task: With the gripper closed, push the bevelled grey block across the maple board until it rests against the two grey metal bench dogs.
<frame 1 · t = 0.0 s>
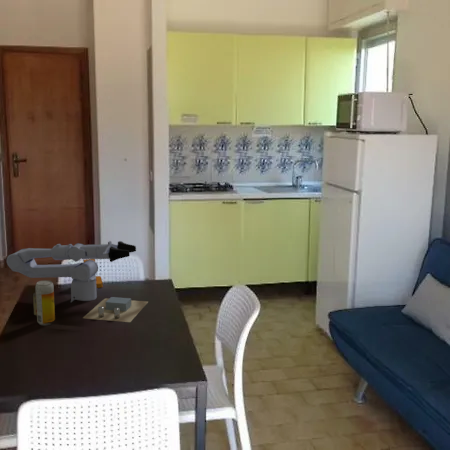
hand: (132, 250, 219), 22 cm above the table, tool horizontal, fingers open, 7 cm apart
bench dogs: (109, 312, 206), on the board, point 3 cm above the table
board: (116, 312, 214), on the table
bracket: (93, 286, 245), on the table
lighter: (43, 314, 212), on the table
bevelled grey block: (118, 307, 216), point 1 cm above the table, touching board
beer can: (46, 323, 203), on the table
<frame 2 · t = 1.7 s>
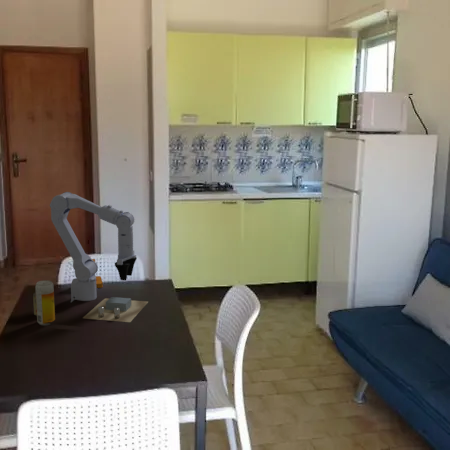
hand: (126, 277, 223), 10 cm above the table, tool pointing down, fingers open, 6 cm apart
nothing on the table moved.
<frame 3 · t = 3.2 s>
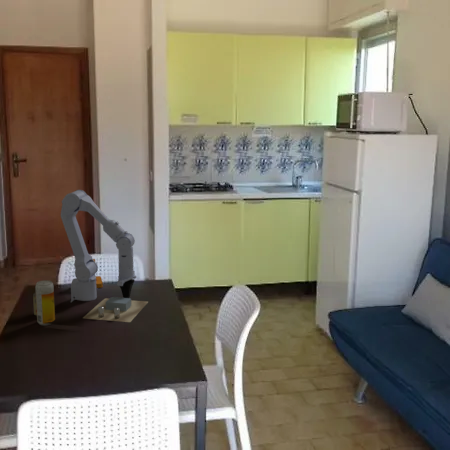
hand: (126, 298, 225), 2 cm above the table, tool pointing down, fingers closed
nothing on the table moved.
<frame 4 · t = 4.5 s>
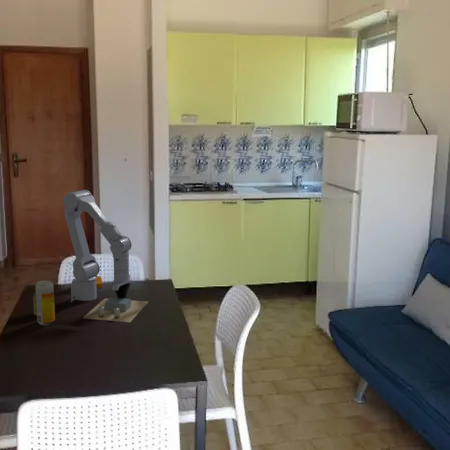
hand: (121, 302, 219), 2 cm above the table, tool pointing down, fingers closed
bevelled grey block: (118, 308, 215), point 1 cm above the table, touching gripper
everything else where it was.
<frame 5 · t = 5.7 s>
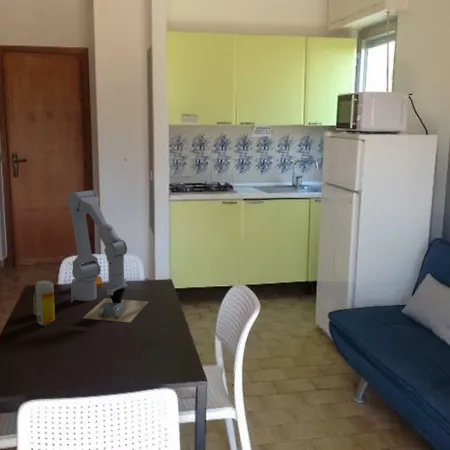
hand: (117, 307, 214), 2 cm above the table, tool pointing down, fingers closed
bevelled grey block: (112, 313, 210), point 1 cm above the table, touching bench dogs, board, gripper
everything else where it was.
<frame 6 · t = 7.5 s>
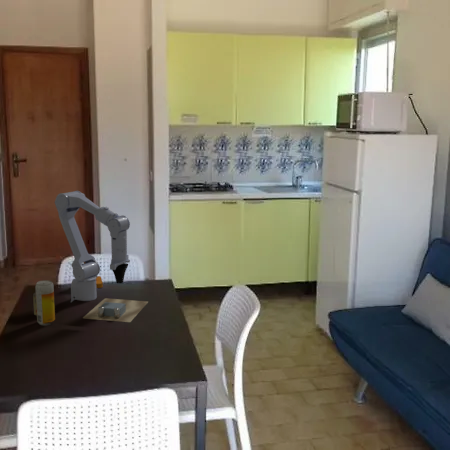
hand: (119, 282, 217), 10 cm above the table, tool pointing down, fingers closed
bevelled grey block: (112, 313, 210), point 1 cm above the table, touching bench dogs, board
everything else where it was.
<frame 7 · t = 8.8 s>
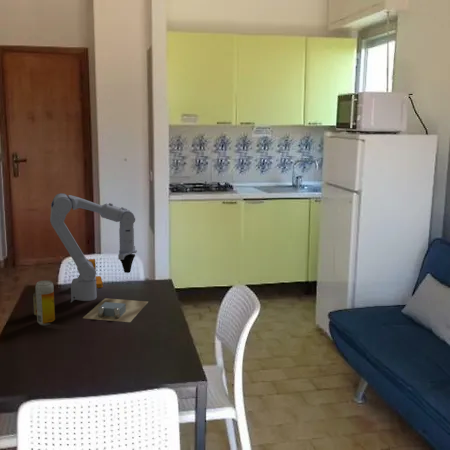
hand: (127, 272, 230), 10 cm above the table, tool pointing down, fingers closed
nothing on the table moved.
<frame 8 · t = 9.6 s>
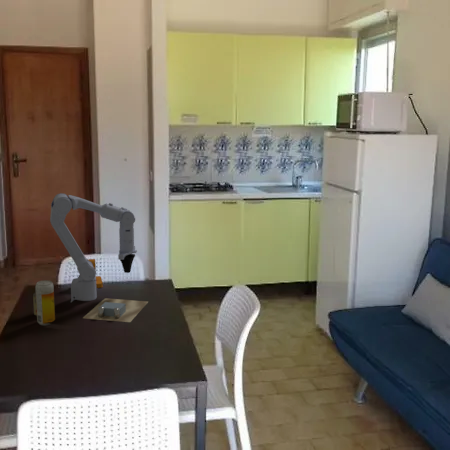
hand: (127, 272, 230), 10 cm above the table, tool pointing down, fingers closed
nothing on the table moved.
at the end: bevelled grey block 0.4 cm from the target spot on the board, point 1.2 cm above the board's base; bevelled grey block moved 6.0 cm from its start; bevelled grey block tilted 0° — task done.
